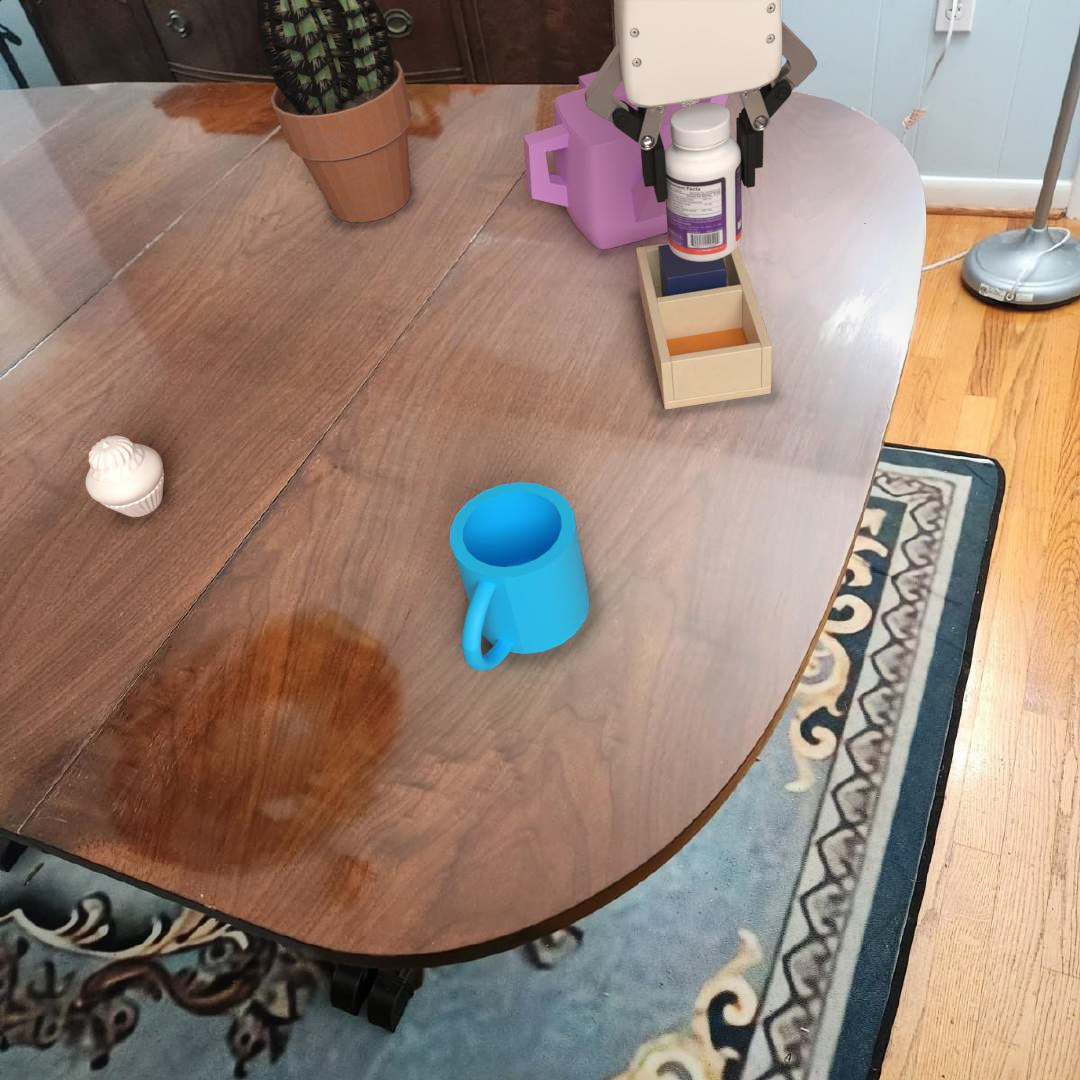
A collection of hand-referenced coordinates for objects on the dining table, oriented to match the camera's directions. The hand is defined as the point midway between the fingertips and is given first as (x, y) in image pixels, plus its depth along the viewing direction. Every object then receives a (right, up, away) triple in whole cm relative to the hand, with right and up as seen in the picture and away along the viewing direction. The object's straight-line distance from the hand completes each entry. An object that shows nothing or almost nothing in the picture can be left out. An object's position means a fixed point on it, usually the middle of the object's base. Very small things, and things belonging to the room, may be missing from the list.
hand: (702, 182), depth 71 cm
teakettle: (-2, +9, +31) cm, 33 cm away
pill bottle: (+1, -3, +4) cm, 5 cm away
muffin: (-44, -22, +13) cm, 51 cm away
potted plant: (-30, +12, +40) cm, 52 cm away
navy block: (+2, -5, +18) cm, 18 cm away
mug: (-13, -31, -2) cm, 34 cm away
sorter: (+2, -8, +16) cm, 18 cm away
